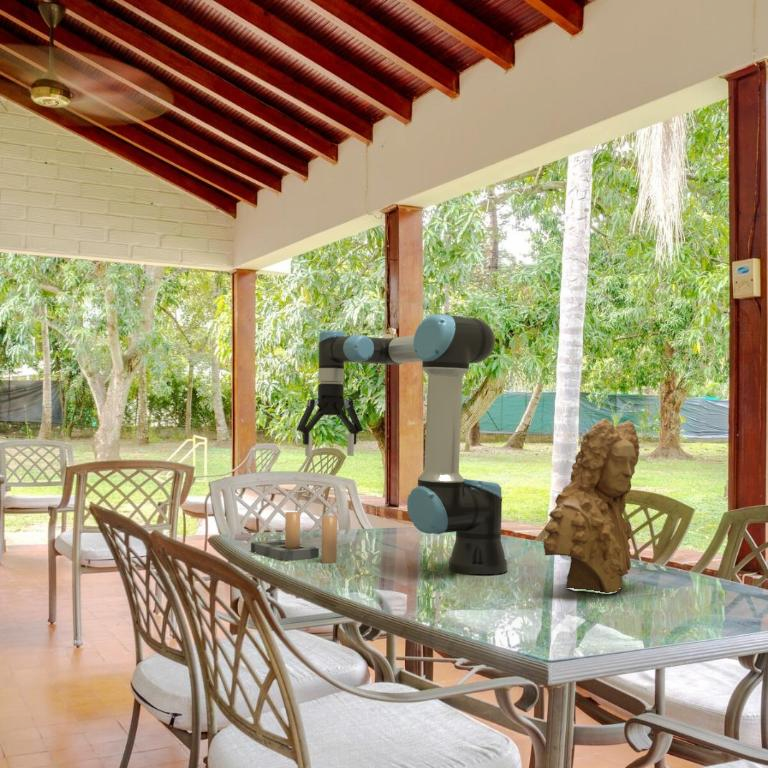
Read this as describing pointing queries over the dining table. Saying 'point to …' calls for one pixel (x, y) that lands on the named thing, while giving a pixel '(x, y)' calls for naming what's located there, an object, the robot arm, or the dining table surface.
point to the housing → (284, 550)
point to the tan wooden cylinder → (292, 530)
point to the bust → (596, 509)
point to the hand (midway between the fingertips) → (329, 456)
